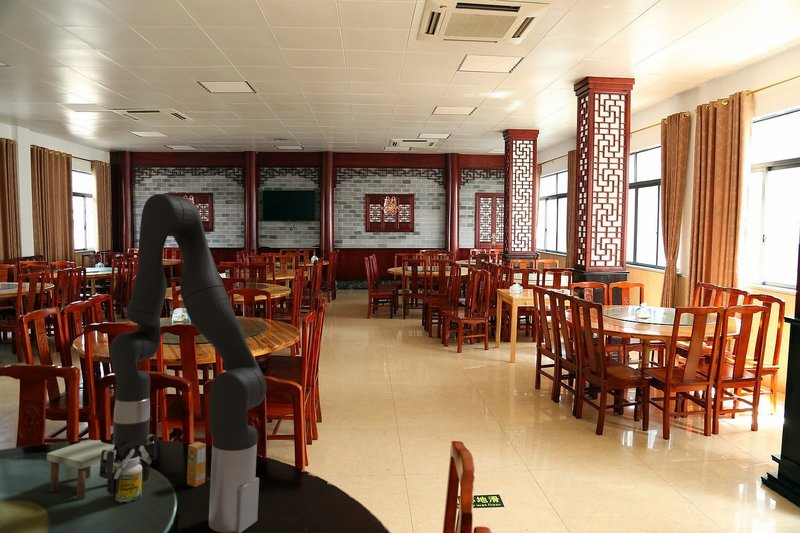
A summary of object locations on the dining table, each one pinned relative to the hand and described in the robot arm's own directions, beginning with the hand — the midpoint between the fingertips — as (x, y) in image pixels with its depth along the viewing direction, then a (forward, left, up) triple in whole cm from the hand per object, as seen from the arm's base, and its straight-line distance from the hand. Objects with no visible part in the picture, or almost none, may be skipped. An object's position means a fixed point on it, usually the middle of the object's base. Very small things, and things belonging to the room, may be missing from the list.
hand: (128, 486), depth 125 cm
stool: (+13, 0, -3) cm, 14 cm away
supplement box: (-8, -13, -3) cm, 16 cm away
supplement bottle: (0, 0, -3) cm, 3 cm away
